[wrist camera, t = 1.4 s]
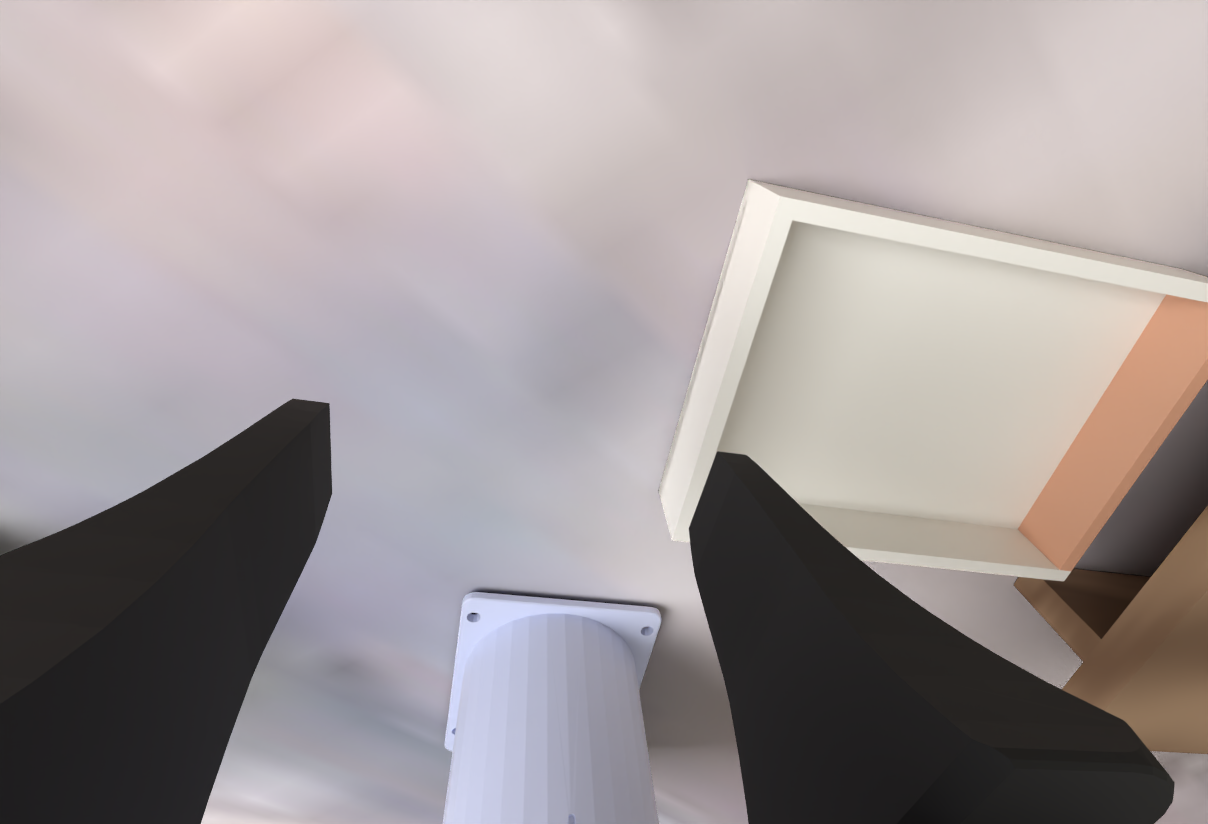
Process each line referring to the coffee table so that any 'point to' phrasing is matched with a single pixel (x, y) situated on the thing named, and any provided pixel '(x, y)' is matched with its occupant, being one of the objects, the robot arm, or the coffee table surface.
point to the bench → (1139, 642)
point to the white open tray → (935, 381)
